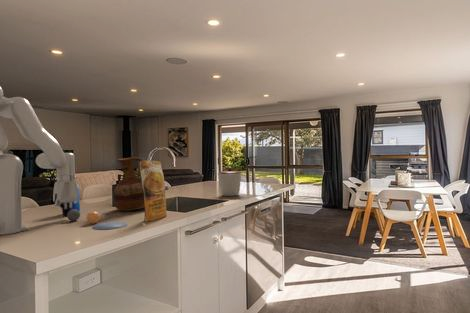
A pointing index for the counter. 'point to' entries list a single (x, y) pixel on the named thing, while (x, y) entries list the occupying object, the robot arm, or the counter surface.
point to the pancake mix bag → (153, 189)
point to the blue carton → (77, 205)
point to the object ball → (93, 217)
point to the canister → (229, 182)
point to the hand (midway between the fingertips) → (66, 216)
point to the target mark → (109, 225)
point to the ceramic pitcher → (129, 187)
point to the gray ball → (73, 215)
